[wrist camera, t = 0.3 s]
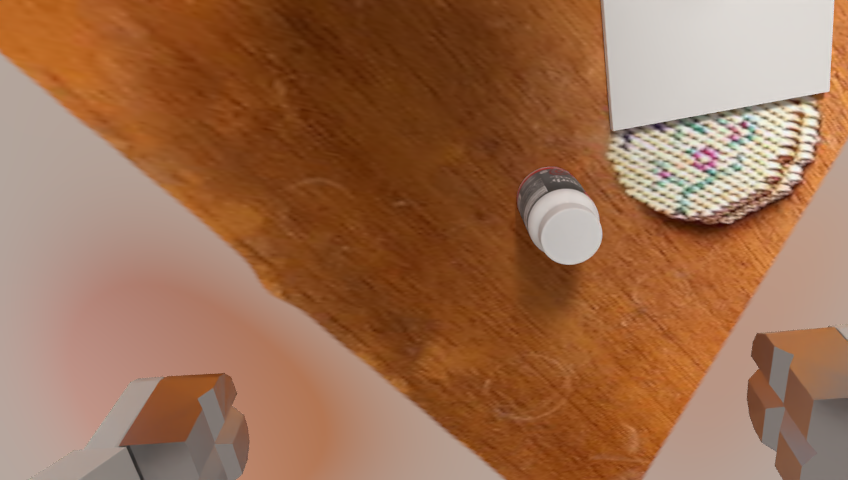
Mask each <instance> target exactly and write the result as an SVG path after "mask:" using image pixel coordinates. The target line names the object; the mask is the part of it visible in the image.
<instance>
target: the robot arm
mask: <svg viewBox="0 0 848 480" xmlns="http://www.w3.org/2000/svg"><path fill="white" fill-rule="evenodd" d="M751 357H752V358H753V360H754V361H755V363H756V364H757V366H758V368H759V369H758V370H757V371H756V372H755V373H754V374H753V375H752V377H751V378H750V379H749V380H748V390H747V401H748V408H749V415H750V419H751V421H752V424H753V427H754V430H755V432H756V433H757V435H758V437H759V439H760V441H761V442H762V443H763V444H765V445H766V446H768V447H770V448H771V449H773V450H775V451H776V452H777V454H776V460H775V467H776V469H777V470H778V472H779V474H780V476H781V477H782V479H783V480H848V324H845V325H835V326H828V327H827V328H815V329H802V330H790V331H780V332H779V331H778V332H766V333H757V334H756V336H755V339H754V341H753V346H752V352H751ZM236 395H237V392H236V389H235V386H234V384H233V381H232V378H231V377H230V376H228V375H226V374H225V373H221V374H203V375H183V376H167V377H154V378H139V379H136V380H134V381H132V382H130V383H129V385H128V386H127V388H126V389H125V391H124V392H123V393H122V395H121V396H120V398H119V399H118V401H117V402H116V404H115V405H114V406H113V408H112V409H111V411H110V412H109V414H108V415H107V416H106V418H105V419H104V421H103V422H102V423H101V425H100V426H99V428H98V429H97V431H96V432H95V433H94V435H93V436H92V438H91V439H90V441H89V442H88V444H87V445H86V447H85V448H84V449H83V450H73V451H72V452H70V453H69V454H67V455H66V456H64V457H63V458H61V459H59V460H58V461H56V462H55V463H53V464H52V465H50V466H49V467H47V468H46V469H44V470H43V471H41V472H39V473H38V474H36V475H35V476H33V477H32V478H30V479H28V480H236V479H237V478H239V477H240V476H241V475H242V474H243V471H244V468H245V465H246V463H247V459H248V451H249V434H248V427H247V423H246V420H245V417H244V415H243V414H242V413H241V412H240V411H238V410H237V409H236V408H235V407H233V406H232V404H233V402H234V400H235V397H236Z"/></svg>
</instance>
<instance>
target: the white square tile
mask: <svg viewBox="0 0 848 480" xmlns="http://www.w3.org/2000/svg"><path fill="white" fill-rule="evenodd" d="M601 10H602V23H603V36H604V49H605V63H606V76H607V89H608V102H609V115H610V128H611V130H612V131H617V130H622V129H628V128H633V127H638V126H644V125H649V124H655V123H660V122H666V121H671V120H677V119H682V118H687V117H693V116H698V115H704V114H709V113H715V112H720V111H726V110H731V109H737V108H742V107H747V106H753V105H758V104H764V103H769V102H775V101H780V100H786V99H791V98H796V97H802V96H807V95H813V94H818V93H824V92H829V89H830V71H831V52H832V33H833V14H834V0H601Z"/></svg>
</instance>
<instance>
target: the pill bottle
mask: <svg viewBox="0 0 848 480" xmlns="http://www.w3.org/2000/svg"><path fill="white" fill-rule="evenodd" d="M517 206H518V209H519V212H520V214H521V217H522V219H523V221H524V224H525V226H526V228H527V231H528V233H529V236H530V238H531V239H532V241H533V242H534V244H535V245H536V246H537V247H538V248H539V249H540V250H542V251H543V252H545V254H546V255H547V256H548V257H549V258H550V259H552V260H553V261H555V262H557V263H560V264H565V265H574V264H578V263H581V262H584V261H586V260H587V259H589V258H590V257H591V256H592V255H594V253H595V252H596V251H597V250H598V248H599V246H600V244H601V240H602V228H601V224H600V222H599V214H598V210H597V208H596V206H595V204H594V202H593V201H592V200H591V198H590V197H589V196H588V194H587V193H586V192H585V190H584V189H583V188H582V186H581V185H580V184H579V182H578V181H577V180H576V178H575V177H574V176H573V175H572V174H570V173H569V172H568V171H566V170H564V169H561V168H558V167H544V168H540V169H537V170H535V171H534V172H532V173H530V174H529V175H528V176H527V177H526V178H525V179H524V180H523V182H522V183H521V185H520V187H519V189H518V193H517Z"/></svg>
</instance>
